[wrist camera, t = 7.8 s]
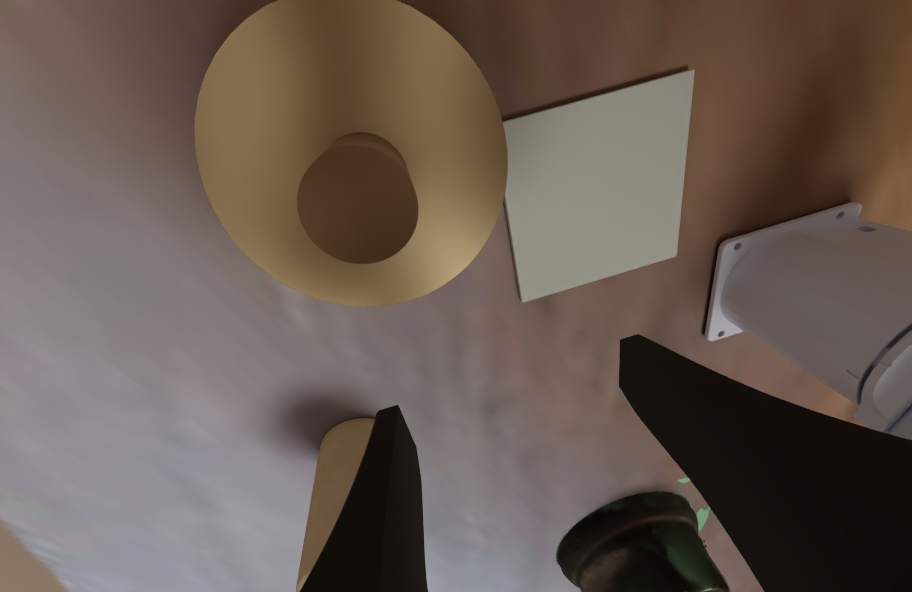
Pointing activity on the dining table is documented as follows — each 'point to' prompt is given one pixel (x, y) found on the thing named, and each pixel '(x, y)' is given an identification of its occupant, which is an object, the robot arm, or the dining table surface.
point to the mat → (597, 184)
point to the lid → (351, 149)
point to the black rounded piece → (641, 548)
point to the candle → (332, 486)
